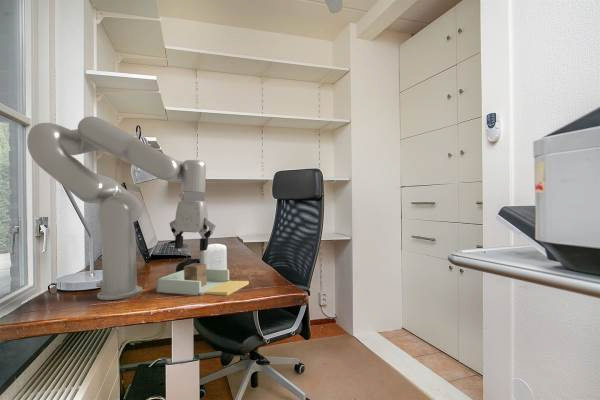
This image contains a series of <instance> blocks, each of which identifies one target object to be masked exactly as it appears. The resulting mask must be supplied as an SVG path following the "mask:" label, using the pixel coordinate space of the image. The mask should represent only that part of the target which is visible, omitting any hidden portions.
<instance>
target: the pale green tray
mask: <svg viewBox="0 0 600 400" xmlns="http://www.w3.org/2000/svg"><path fill="white" fill-rule="evenodd" d="M206 280H207V285H205V286H203V287H201V281H193V280H184V270H182V271H179V272H176V271H175V272H173V273H171V274H170V273H169V274H168V275H165V276H162V277H159V278H156V279H155V282H156V283H155V286H156V287H155V288H156V289H155V290H156V293H163V294H164V293H167V294H176V295H177V294H179V295H191V296H203V295H205V294H204V292H205V291H207V290H210V289H212V288H214V287H216V286H218V285H220V284H222V283H225V282H227V281H232V280H231V279H230V269H227V270H225V269H206Z"/></svg>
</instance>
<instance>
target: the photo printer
mask: <svg viewBox="0 0 600 400" xmlns="http://www.w3.org/2000/svg"><path fill="white" fill-rule="evenodd" d="M227 251H228V250H227V246H226V245H225V244H222V243H210V244H209V243H208V247H207V250H205V251H200V264H206V269H225V270H228V258H227V257H228V253H227Z"/></svg>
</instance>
